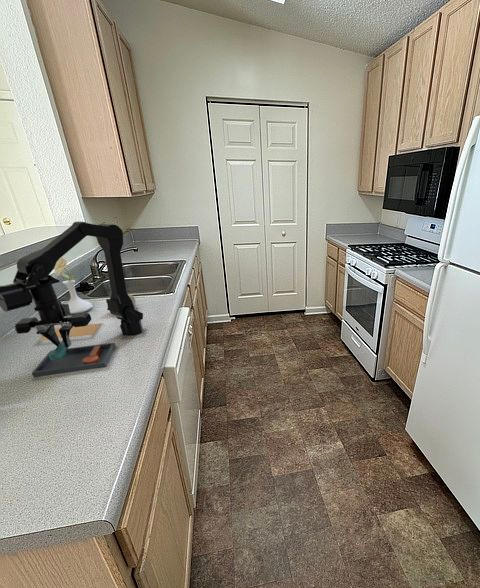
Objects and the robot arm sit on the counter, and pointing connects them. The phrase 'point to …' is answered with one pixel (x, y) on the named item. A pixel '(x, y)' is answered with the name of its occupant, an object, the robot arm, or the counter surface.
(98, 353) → the terracotta spoon
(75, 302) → the flower in vase
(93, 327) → the cork mat
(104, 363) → the tray
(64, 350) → the teal spoon
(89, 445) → the counter surface
